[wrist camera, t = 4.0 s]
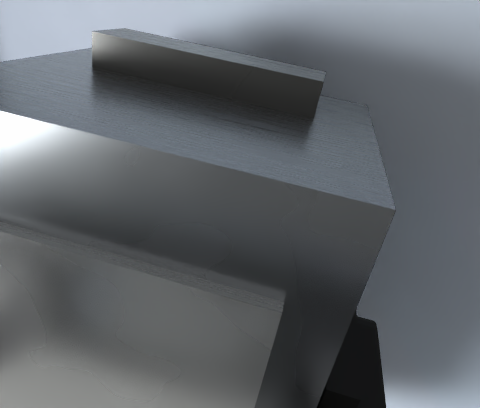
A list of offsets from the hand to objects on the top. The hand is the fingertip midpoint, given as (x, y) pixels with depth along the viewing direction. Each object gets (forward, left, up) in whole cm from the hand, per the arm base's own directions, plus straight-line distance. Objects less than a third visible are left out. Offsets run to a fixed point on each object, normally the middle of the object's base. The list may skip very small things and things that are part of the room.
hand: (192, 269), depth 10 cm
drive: (0, 0, -1) cm, 1 cm away
